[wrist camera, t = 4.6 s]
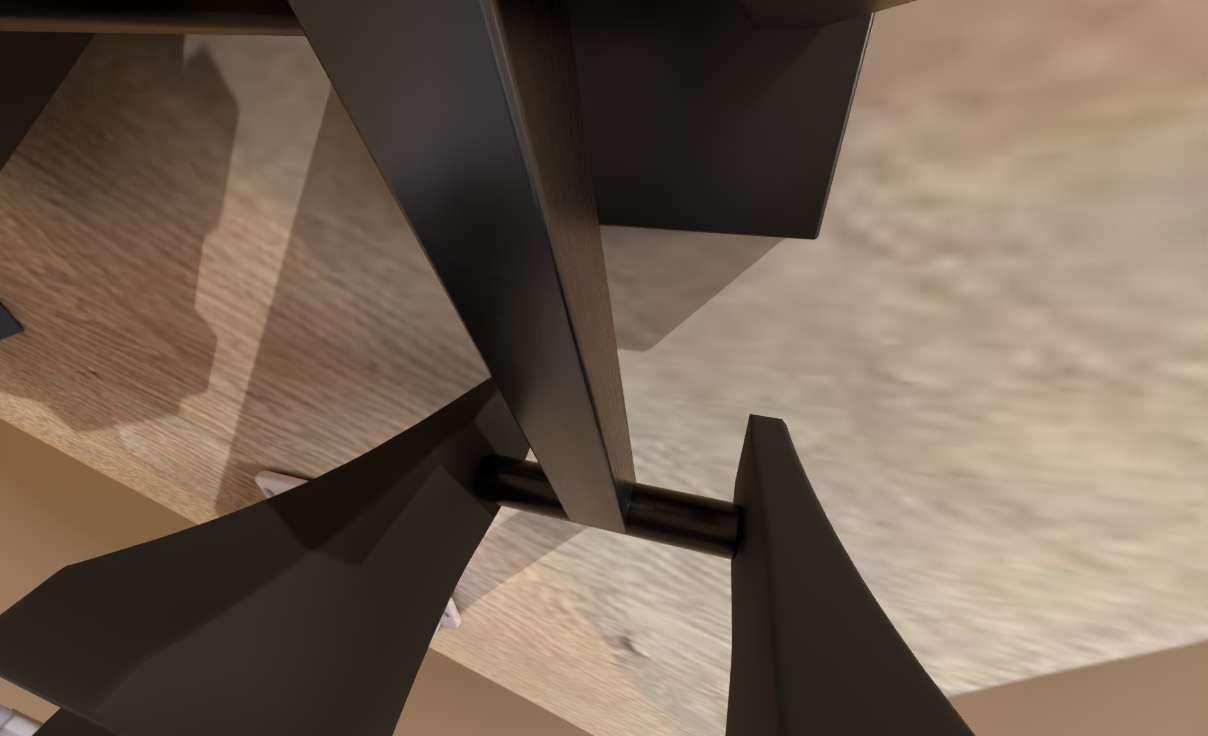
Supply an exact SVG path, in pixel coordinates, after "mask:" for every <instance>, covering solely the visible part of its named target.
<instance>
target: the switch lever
mask: <svg viewBox="0 0 1208 736" xmlns="http://www.w3.org/2000/svg"><path fill="white" fill-rule="evenodd" d="M286 1H287V3H288V4H289V6H290V8H291V10H292V12H293V14H294V15H295V17H296V19H297V21H298V23H299V25H300V26H301V28H302V30H303V32H304V34H305V36H306V37H307V39H308V41H309V43H310V45H311V47H312V48H313V50H314V52H315V54H316V56H317V57H318V59H319V61H320V63H321V65H322V67H323V68H324V70H325V72H326V74H327V76H328V78H329V79H330V81H331V83H332V85H333V87H334V89H335V90H336V92H337V94H338V96H339V98H340V100H341V101H342V103H343V105H344V107H345V109H346V111H347V112H348V114H349V116H350V118H351V120H352V122H353V123H354V125H355V127H356V129H357V131H358V133H359V134H360V136H361V138H362V140H363V142H364V144H365V145H366V147H367V149H368V151H369V153H370V155H371V156H372V158H373V160H374V162H375V164H376V166H377V167H378V169H379V171H380V173H381V175H382V177H383V178H384V180H385V182H386V184H387V186H388V188H389V189H390V191H391V193H392V195H393V197H394V199H395V200H396V202H397V204H398V206H399V208H400V210H401V211H402V213H403V215H404V217H405V219H406V221H407V222H408V224H409V226H410V228H411V230H412V232H413V233H414V235H415V237H416V239H417V241H418V243H419V244H420V246H421V248H422V250H423V252H424V254H425V255H426V257H427V259H428V261H429V263H430V264H431V266H432V268H433V270H434V272H435V274H436V275H437V277H438V279H439V281H440V283H441V285H442V286H443V288H444V290H445V292H446V294H447V296H448V297H449V299H450V301H451V303H452V305H453V307H454V308H455V310H456V312H457V314H458V316H459V318H460V319H461V321H462V323H463V325H464V327H465V329H466V330H467V332H468V334H469V336H470V338H471V340H472V341H473V343H474V345H475V347H476V349H477V351H478V352H479V354H480V356H481V358H482V360H483V362H484V363H485V365H486V367H487V369H488V371H489V373H490V374H491V376H492V378H493V380H494V382H495V384H496V385H497V387H498V389H499V391H500V393H501V395H502V396H503V398H504V400H505V402H506V404H507V406H508V407H509V409H510V411H511V413H512V415H513V417H514V418H515V420H516V422H517V424H518V426H519V428H520V429H521V431H522V433H523V435H524V437H525V439H526V440H527V442H528V444H529V446H530V448H531V450H532V451H533V453H534V455H535V457H536V459H537V460H538V462H539V463H538V462H533V461H528V460H523V459H518V458H513V457H508V456H504V455H499V454H492V455H489V456H488V457H487V458H486V459H485V460H484V461H483V463H482V465H481V467H480V469H479V472H478V475H477V479H476V494H477V497H478V498H479V499H480V500H481V501H484V502H488V503H492V504H497V505H501V506H505V507H509V508H514V509H518V510H522V511H527V512H531V513H535V514H539V515H544V516H548V517H552V518H556V519H561V520H565V521H569V522H574V523H578V524H582V525H586V526H591V527H595V528H599V529H603V530H608V531H612V532H616V533H620V534H625V535H629V536H633V537H638V538H642V539H646V540H650V541H655V542H659V543H663V544H667V545H672V546H676V547H680V548H684V549H689V550H693V551H697V552H702V553H706V554H710V555H714V556H719V557H723V558H727V559H735V557H736V555H737V553H738V548H739V543H740V536H741V527H742V508H741V505H739V504H738V503H733V502H728V501H723V500H718V499H713V498H708V497H704V496H699V495H694V494H689V493H684V492H679V491H674V490H669V489H665V488H660V487H655V486H650V485H645V484H640V483H636V478H635V471H634V464H633V457H632V450H631V443H630V436H629V429H628V423H627V416H626V409H625V402H624V395H623V388H622V381H621V374H620V367H619V360H618V353H617V346H616V339H615V332H614V325H613V319H612V312H611V305H610V298H609V291H608V284H607V277H606V270H605V263H604V256H603V249H602V242H601V235H600V228H599V222H598V215H597V208H596V201H595V194H594V187H593V180H592V173H591V166H590V159H589V152H588V145H587V138H586V131H585V124H584V118H583V111H582V104H581V97H580V90H579V83H578V76H577V69H576V62H575V55H574V48H573V41H572V34H571V27H570V21H569V14H568V7H567V0H286Z"/></svg>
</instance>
